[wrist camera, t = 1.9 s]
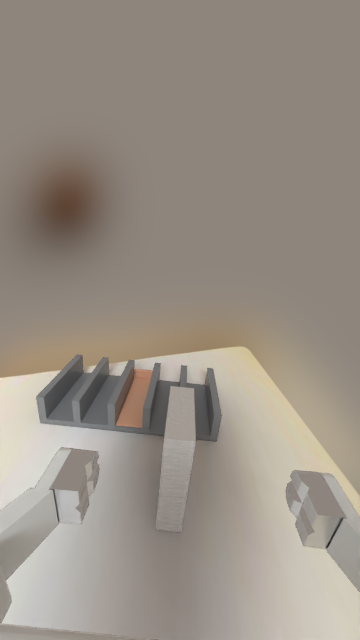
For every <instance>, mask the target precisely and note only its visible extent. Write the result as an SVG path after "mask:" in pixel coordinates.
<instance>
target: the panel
mask: <svg viewBox="0 0 360 640" xmlns="http://www.w3.org/2000/svg"><path fill="white" fill-rule="evenodd" d="M195 444H196V432H195V403H194V388H185V387H176V386H171V387H170V395H169V403H168V411H167V419H166V427H165V435H164V445H163V455H162V466H161V477H160V488H159V498H158V509H157V520H156V530H162V531H172V532H182V526H183V519H184V513H185V507H186V500H187V494H188V488H189V482H190V475H191V469H192V463H193V457H194V450H195Z"/></svg>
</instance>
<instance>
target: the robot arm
mask: <svg viewBox="0 0 360 640" xmlns="http://www.w3.org/2000/svg"><path fill="white" fill-rule="evenodd" d="M98 458H99V455H98V452H97V451H89V450H81V449H73V448H64V447H61V448H60V449H59V450H58V451H57V453H56V455H55V456H54V458H53V459H52V461H51V463H50V464H49V466H48V467H47V469H46V470H45V472H44V474H43V475H42V477H41V478H40V480H39V482H38V483H37V485H36V486H35V488H30V489H28V490H27V491H26V492H24V493H23V494H22V495H20V496H19V497H18V498H16V499H15V500H13V501H12V502H11V503H9V504H8V505H7V506H5V507H4V508H3V509H1V510H0V640H156V639H146V638H137V637H127V636H117V635H108V634H98V633H88V632H78V631H69V630H59V629H49V628H40V627H30V626H20V625H10V624H1V623H2V621H3V619H4V617H5V615H6V613H7V611H8V609H9V607H10V604H11V602H12V599H11V594H10V591H9V588H8V585H7V582H6V580H7V579H8V578H9V577H10V576H11V575H12V574H13V573H14V571H15V570H16V569H17V568H18V567H19V566H20V565H21V564H22V563H23V562H24V561H25V560H26V559H27V558H28V556H29V555H30V554H31V553H32V552H33V551H34V550H35V549H36V548H37V547H38V546H39V545H40V544H41V543H42V541H43V540H44V539H45V538H46V537H47V536H48V535H49V534H50V533H51V532H52V531H53V530H54V529H55V528H56V527H57V525H58V523H72V524H82V521H83V519H84V516H85V513H86V511H87V508H88V506H89V496H90V495H91V494H92V493H93V492H94V490H95V487H96V484H97V480H98V476H99V464H98V463H97V460H98ZM290 477H291V479H292V481H290V482H289V483H288V484H287V487H286V499H287V504H288V507H289V509H290V511H291V513H292V514H293V515H294V516H295V517H296V523H295V526H296V528H297V531H298V533H299V536H300V539H301V541H302V544H303V546H305V547H313V548H320V549H327V552H328V553H329V555H330V556H331V557H332V558H333V560H334V561H335V562H336V563H337V565H338V566H339V567H340V568H341V570H342V571H343V572H344V574H345V575H346V576H347V577H348V579H349V580H350V581H351V582H352V584H353V585H354V586H355V587H356V589H357V590H358V591H359V592H360V516H359V515H358V513H357V512H356V510H355V508H354V507H353V505H352V504H351V502H350V500H349V499H348V497H347V496H346V494H345V492H344V491H343V489H342V487H341V486H340V484H339V483H338V481H337V479H336V478H335V477H334V476H333V475H332V474H329V473H318V472H311V471H299V470H294V471H292V473H291V475H290Z"/></svg>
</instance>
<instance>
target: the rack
mask: <svg viewBox="0 0 360 640" xmlns="http://www.w3.org/2000/svg"><path fill="white" fill-rule="evenodd" d="M134 362H135V361H134V360H129V361H128V363H127V365H126V367H125V369H124V371H123V373H122V375H121V376H112V375H109V362H108V358H105V357H103V358H102V359H101V361H100V362H99V364H98V365H97V366H96V368H95V369H94V370H93V372H92V373H83V358H82V355H76V356H75V357H74V358H73V359H72V361H71V362H69V363H68V365H67V366H66V367H65V368H64V369H63V370H62V371H61V372H60V373H59V374H58V375H57V376H56V377H55V378H54V379H53V380H52V381H51V382H50V383H49V384H48V385H47V386H46V387H45V388H44V389H43V390H42V391H41V392H40V393H39V394H38V395H37V396H36V399H37V405H38V411H39V418H40V423H45V424H54V425H64V426H74V427H83V428H93V429H103V430H112V431H122V432H132V433H141V434H151V435H160V436H164V435H165V427H166V419H167V411H168V403H169V395H170V387H171V386H176V387H185V388H194V403H195V432H196V439H199V440H209V441H217V437H218V432H219V427H220V422H221V417H222V415H221V409H220V404H219V398H218V393H217V388H216V382H215V377H214V372H213V369H212V368H207V375H206V381H205V385H200V384H190V383H187V366H183V365H181V373H180V382H170V381H161V380H159V379H160V365H161V363H155V365H154V369H153V371H152V370H142V369H135V378H134Z"/></svg>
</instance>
